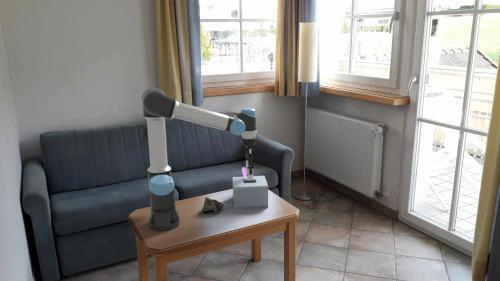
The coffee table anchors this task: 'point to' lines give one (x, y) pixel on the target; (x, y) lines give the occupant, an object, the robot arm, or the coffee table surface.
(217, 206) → the fossil
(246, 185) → the coin box
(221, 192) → the coffee table surface
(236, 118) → the robot arm
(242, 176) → the toy chair
